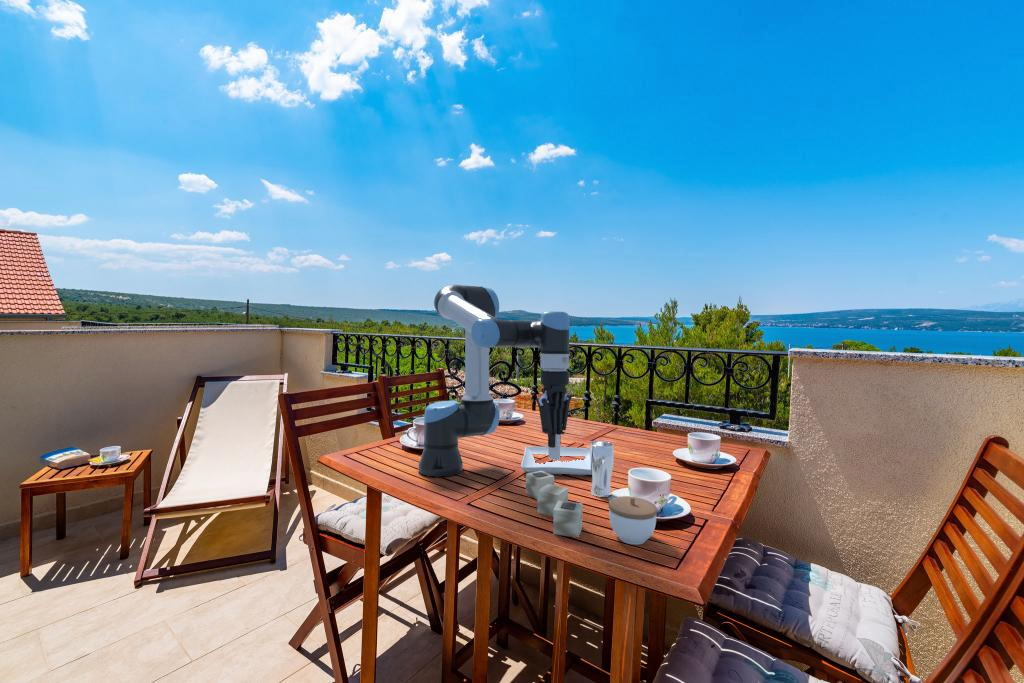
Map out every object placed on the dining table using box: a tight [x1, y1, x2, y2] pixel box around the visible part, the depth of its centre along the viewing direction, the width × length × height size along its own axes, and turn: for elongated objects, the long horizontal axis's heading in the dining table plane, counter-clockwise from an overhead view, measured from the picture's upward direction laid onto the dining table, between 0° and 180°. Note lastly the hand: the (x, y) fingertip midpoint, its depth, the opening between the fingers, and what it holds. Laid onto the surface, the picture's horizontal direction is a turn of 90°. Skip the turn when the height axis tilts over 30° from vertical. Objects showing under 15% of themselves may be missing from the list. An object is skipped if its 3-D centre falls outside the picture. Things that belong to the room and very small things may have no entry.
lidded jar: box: [608, 495, 658, 546], centre depth 94 cm, size 11×11×9 cm
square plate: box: [520, 446, 592, 476], centre depth 148 cm, size 27×27×4 cm
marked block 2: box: [552, 500, 583, 539], centre depth 98 cm, size 6×6×6 cm
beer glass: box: [589, 440, 615, 498], centre depth 121 cm, size 7×7×15 cm
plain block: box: [536, 484, 569, 518], centre depth 108 cm, size 6×6×6 cm
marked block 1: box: [525, 471, 555, 501], centre depth 120 cm, size 6×6×6 cm
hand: (554, 458), depth 108 cm, fingers closed
